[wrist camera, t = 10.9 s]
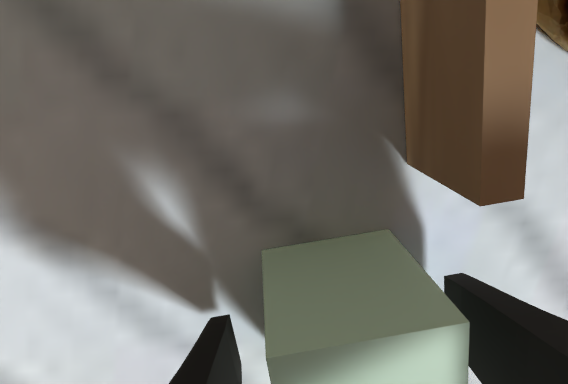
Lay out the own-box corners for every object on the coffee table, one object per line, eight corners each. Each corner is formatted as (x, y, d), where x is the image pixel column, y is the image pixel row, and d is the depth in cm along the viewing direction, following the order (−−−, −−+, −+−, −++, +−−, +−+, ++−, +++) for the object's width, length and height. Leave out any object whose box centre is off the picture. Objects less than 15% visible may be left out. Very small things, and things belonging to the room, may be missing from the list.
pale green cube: (388, 228, 12) (469, 322, 8) (393, 331, 14) (465, 464, 9) (261, 249, 12) (265, 358, 8) (280, 351, 14) (294, 496, 9)
